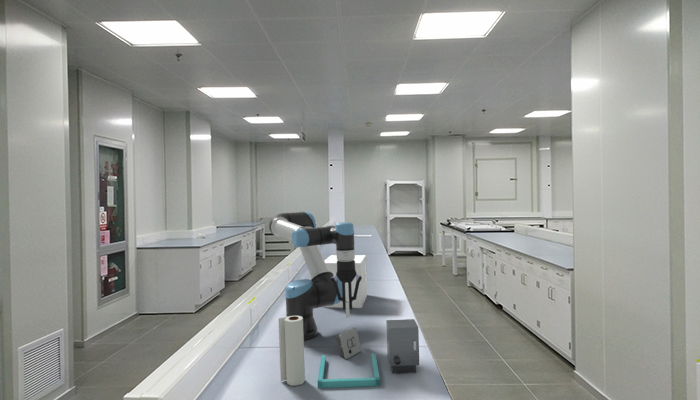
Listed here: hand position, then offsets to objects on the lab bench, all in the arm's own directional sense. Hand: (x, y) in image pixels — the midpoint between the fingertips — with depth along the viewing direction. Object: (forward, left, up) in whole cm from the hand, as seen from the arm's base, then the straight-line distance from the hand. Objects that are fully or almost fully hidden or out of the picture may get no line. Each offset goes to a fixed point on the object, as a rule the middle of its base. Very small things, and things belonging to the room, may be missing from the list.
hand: (347, 316), depth 160 cm
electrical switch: (0, -12, -11) cm, 16 cm away
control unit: (+19, -26, -11) cm, 34 cm away
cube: (-1, +60, -11) cm, 61 cm away
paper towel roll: (-18, -32, -11) cm, 38 cm away
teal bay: (0, -27, -11) cm, 29 cm away
